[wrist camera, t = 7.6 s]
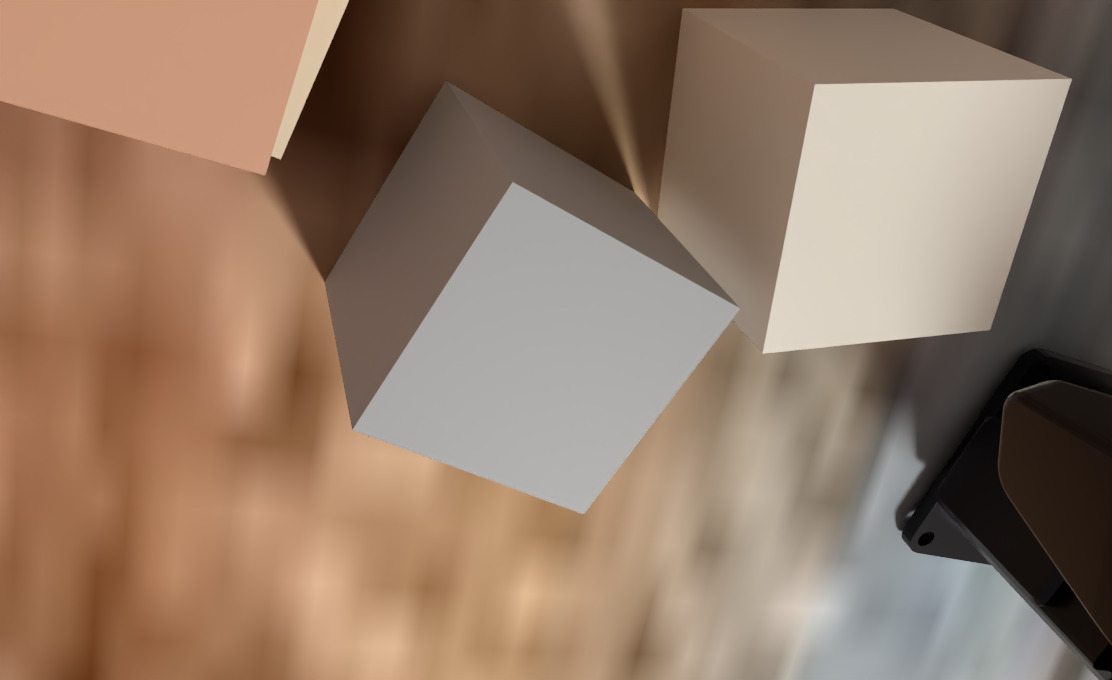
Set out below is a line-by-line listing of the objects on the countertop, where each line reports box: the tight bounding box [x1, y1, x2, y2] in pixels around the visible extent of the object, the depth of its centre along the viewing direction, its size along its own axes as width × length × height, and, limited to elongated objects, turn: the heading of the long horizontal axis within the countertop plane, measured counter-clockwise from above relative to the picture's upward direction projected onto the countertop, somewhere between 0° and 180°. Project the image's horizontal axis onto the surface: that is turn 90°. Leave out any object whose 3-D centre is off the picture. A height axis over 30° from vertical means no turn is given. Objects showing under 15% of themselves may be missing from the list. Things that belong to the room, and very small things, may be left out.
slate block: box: [325, 81, 740, 514], centre depth 17 cm, size 4×4×5 cm
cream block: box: [657, 8, 1072, 354], centre depth 18 cm, size 4×4×5 cm
